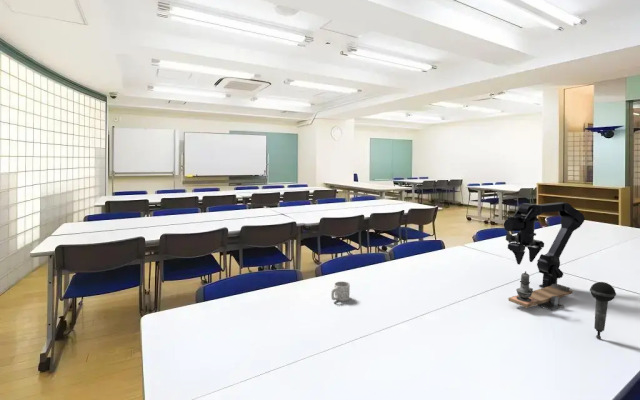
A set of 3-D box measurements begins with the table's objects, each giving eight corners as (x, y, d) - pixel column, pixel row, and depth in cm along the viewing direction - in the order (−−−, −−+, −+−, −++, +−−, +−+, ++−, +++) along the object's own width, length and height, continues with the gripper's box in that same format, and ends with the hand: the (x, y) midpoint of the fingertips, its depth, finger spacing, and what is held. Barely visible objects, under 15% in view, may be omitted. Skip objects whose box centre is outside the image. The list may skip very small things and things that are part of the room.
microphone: (584, 331, 121) (589, 277, 119) (610, 337, 117) (615, 281, 115) (586, 340, 115) (591, 283, 113) (612, 346, 111) (618, 287, 109)
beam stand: (530, 295, 154) (531, 285, 153) (563, 307, 141) (564, 296, 141) (519, 298, 150) (519, 288, 150) (552, 310, 138) (553, 300, 137)
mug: (341, 294, 156) (341, 280, 155) (352, 298, 151) (352, 284, 150) (326, 300, 149) (326, 286, 148) (337, 305, 144) (337, 290, 143)
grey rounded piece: (515, 295, 144) (516, 268, 143) (531, 297, 141) (533, 270, 140) (516, 300, 139) (517, 272, 138) (532, 303, 136) (534, 274, 135)
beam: (553, 287, 156) (553, 282, 156) (572, 293, 149) (573, 288, 149) (508, 300, 142) (508, 295, 142) (527, 307, 135) (527, 302, 135)
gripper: (522, 226, 169) (520, 256, 171) (498, 229, 161) (496, 261, 163) (545, 229, 159) (543, 262, 161) (520, 233, 151) (518, 267, 153)
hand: (524, 263), depth 159 cm, fingers open, 9 cm apart
